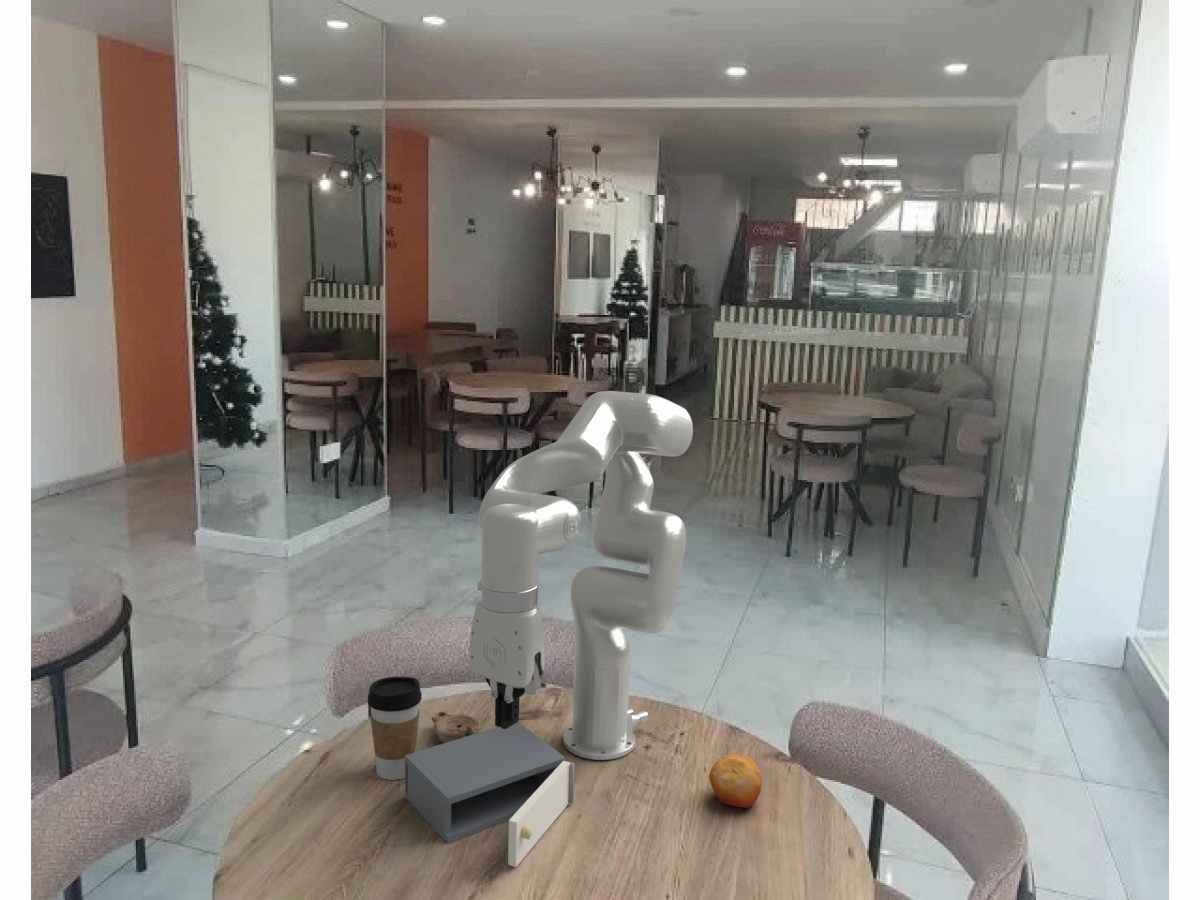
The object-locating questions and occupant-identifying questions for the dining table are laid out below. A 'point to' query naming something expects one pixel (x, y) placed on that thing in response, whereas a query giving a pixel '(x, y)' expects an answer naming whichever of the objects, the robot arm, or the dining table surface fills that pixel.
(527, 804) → the door
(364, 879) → the dining table surface
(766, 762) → the dining table surface
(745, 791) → the fruit
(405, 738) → the coffee cup
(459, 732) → the oil lamp
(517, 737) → the cabinet
